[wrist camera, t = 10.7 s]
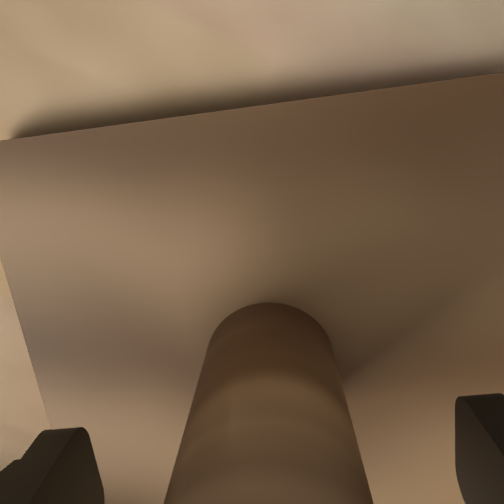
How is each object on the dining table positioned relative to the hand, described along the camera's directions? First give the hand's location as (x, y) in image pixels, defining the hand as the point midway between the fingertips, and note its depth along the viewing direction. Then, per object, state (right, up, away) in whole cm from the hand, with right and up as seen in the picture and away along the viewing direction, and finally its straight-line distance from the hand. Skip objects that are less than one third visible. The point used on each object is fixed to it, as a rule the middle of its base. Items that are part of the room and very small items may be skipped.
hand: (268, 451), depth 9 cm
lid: (0, +1, +4) cm, 4 cm away
